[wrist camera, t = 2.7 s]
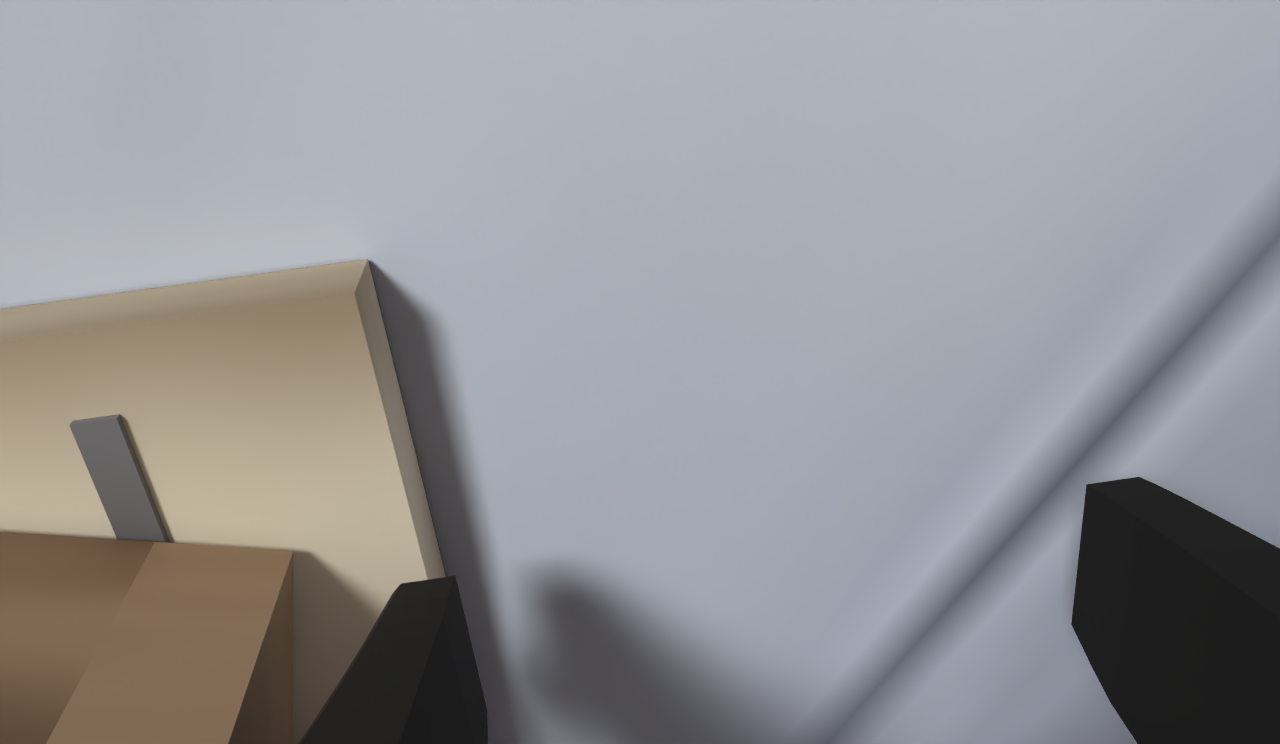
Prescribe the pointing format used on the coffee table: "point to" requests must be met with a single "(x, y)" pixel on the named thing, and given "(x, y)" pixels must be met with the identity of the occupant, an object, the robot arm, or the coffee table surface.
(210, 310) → the birch board
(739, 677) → the coffee table surface
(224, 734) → the tan cardboard box
